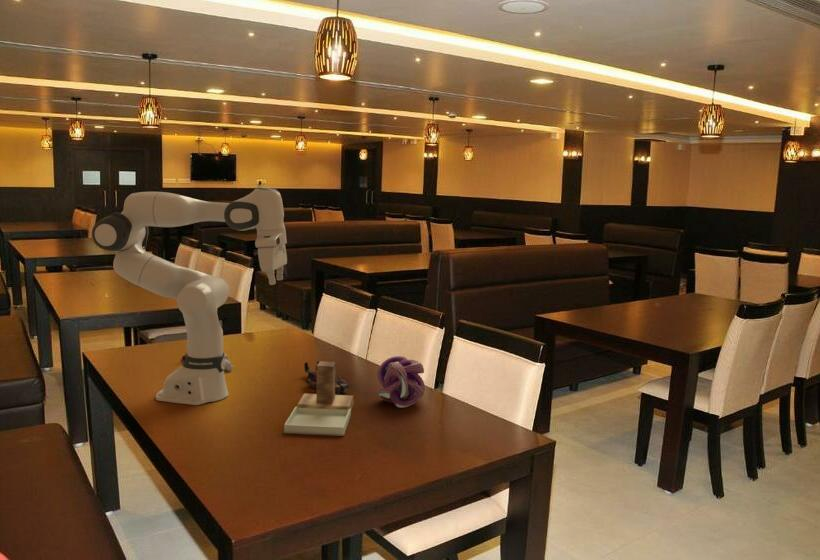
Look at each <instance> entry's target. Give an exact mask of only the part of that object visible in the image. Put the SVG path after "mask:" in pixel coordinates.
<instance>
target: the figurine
mask: <svg viewBox="0 0 820 560" xmlns="http://www.w3.org/2000/svg"><path fill="white" fill-rule="evenodd" d="M319 362H320V360H319V361H316V366H315V370H314V371H313V370H310V367H309V365H308V364H309V363H308V362H306V361H305V362H304V363H303V364H304V372H305V373H306V374H307V377H306V384H309V385H310V386H311V387H312V388H314V390H315V391H316V392H317V365H318V363H319ZM337 377H338V378H335V395H341V394H342V393H343V392H346V390H348V389H349V387H350V386H349V384H348V382H347V381H346V380H344V379H343V378H342V375H341V376H340V375H337Z"/></svg>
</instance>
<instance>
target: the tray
mask: <svg viewBox="0 0 820 560" xmlns="http://www.w3.org/2000/svg"><path fill="white" fill-rule="evenodd" d="M351 415H352V410H351V409H349V410H344V409H322V408H300V407H298V405H297V406H294V408H293V410H292V411H291V413H290V415H289V416H288V418H287V419H286V421H285V423H284V425H283V434H292V435H295V434H296V435H311V436H312V435H313V436H333V437H335V436H338V437H344V436H345V435H346V434H345V433H346V431H347V427H348V425H349V423H350V420H351Z"/></svg>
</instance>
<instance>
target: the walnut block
mask: <svg viewBox="0 0 820 560" xmlns="http://www.w3.org/2000/svg"><path fill="white" fill-rule="evenodd" d="M316 365H317V364H316ZM336 365H337V364H336V361H322V360H321V361H320V360H319V363H318V365H317V391H316V394H317V395H316V403H323V404H333V402H334V399H335V395H336V394H335V379H336Z"/></svg>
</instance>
